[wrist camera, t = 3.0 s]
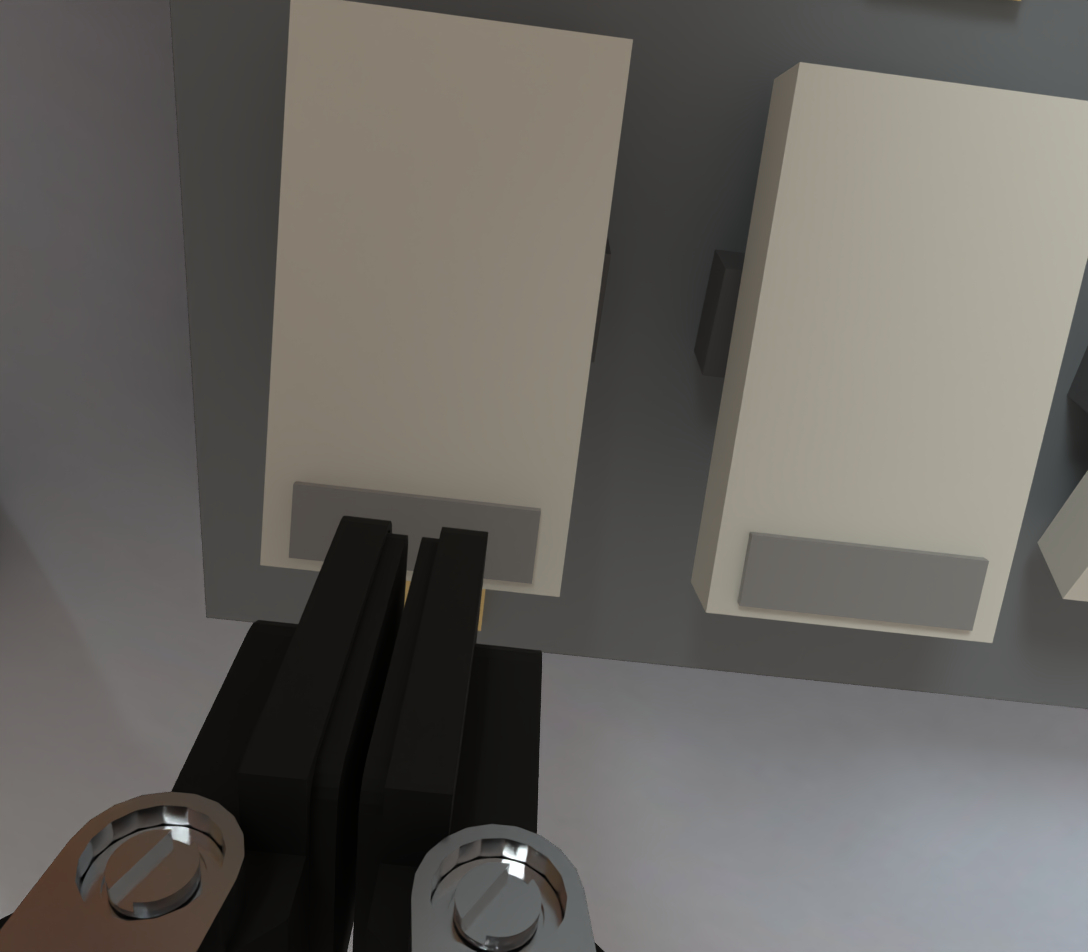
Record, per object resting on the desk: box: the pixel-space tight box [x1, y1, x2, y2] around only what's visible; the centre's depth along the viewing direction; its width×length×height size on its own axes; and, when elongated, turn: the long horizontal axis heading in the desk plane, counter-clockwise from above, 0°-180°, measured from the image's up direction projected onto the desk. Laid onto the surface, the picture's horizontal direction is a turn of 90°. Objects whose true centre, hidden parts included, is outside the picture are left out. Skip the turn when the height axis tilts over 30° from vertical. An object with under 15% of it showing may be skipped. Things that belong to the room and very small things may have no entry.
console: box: [170, 0, 1088, 709], centre depth 16 cm, size 14×20×5 cm
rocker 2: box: [691, 62, 1088, 643], centre depth 13 cm, size 7×4×1 cm, turn 173°
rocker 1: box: [260, 0, 633, 597], centre depth 12 cm, size 7×4×1 cm, turn 173°
